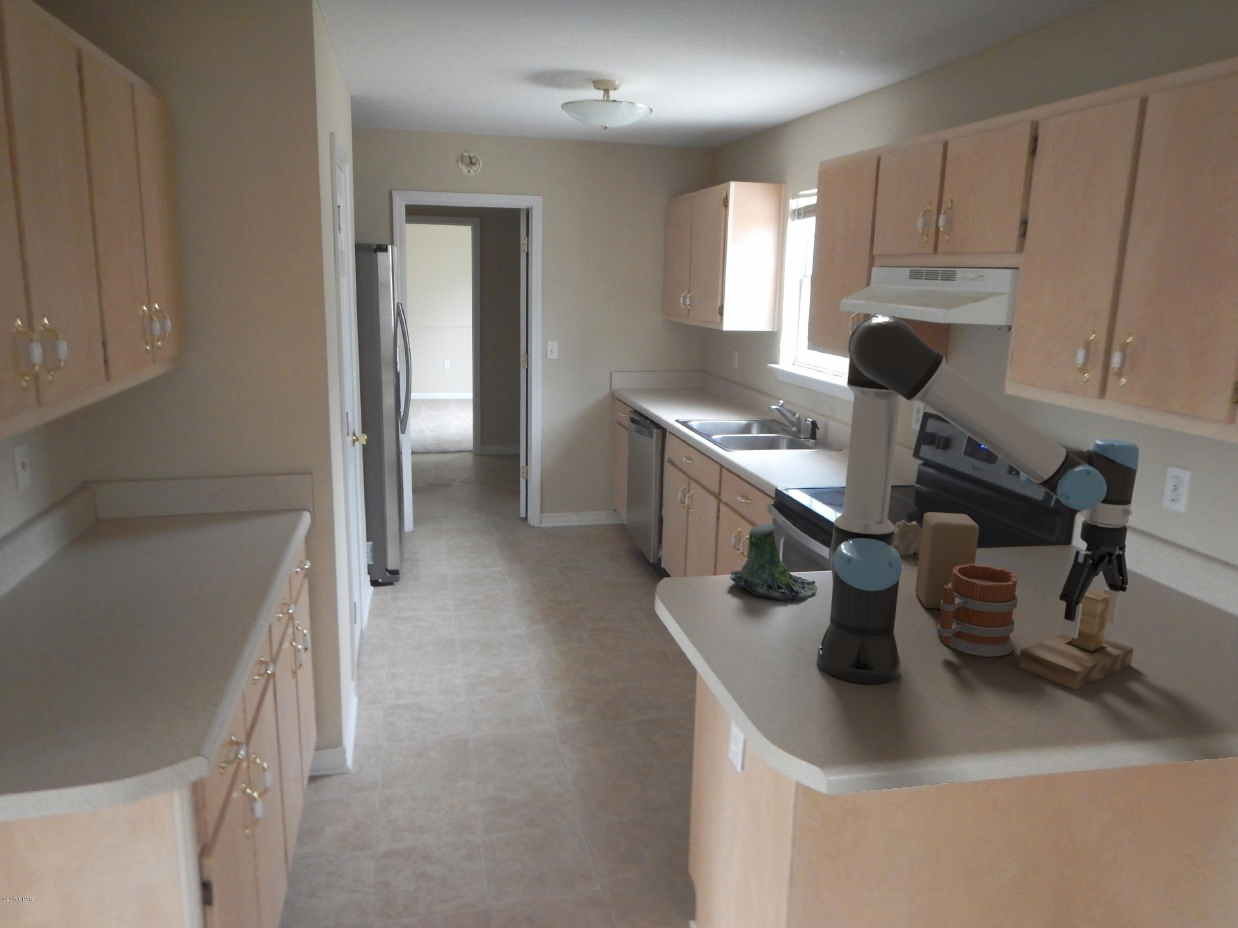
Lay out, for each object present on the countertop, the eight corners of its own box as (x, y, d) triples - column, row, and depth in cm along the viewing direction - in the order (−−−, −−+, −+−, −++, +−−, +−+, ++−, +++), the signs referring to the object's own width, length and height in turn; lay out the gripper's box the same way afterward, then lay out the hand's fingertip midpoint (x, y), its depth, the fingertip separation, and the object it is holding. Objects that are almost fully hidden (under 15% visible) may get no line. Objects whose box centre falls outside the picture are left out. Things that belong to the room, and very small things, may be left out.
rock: (931, 571, 232) (943, 538, 235) (915, 550, 225) (926, 516, 228) (899, 566, 238) (910, 534, 242) (882, 545, 231) (894, 512, 235)
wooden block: (958, 596, 206) (968, 513, 202) (970, 612, 197) (981, 525, 192) (913, 593, 207) (922, 510, 203) (923, 609, 198) (933, 522, 193)
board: (1074, 689, 161) (1077, 671, 160) (1018, 666, 170) (1020, 649, 169) (1130, 664, 172) (1133, 648, 171) (1075, 644, 181) (1077, 628, 180)
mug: (1028, 648, 178) (1037, 577, 175) (969, 669, 168) (978, 594, 164) (967, 624, 190) (975, 557, 186) (908, 643, 179) (915, 572, 176)
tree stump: (833, 601, 202) (824, 530, 196) (752, 627, 198) (740, 555, 193) (798, 571, 219) (789, 504, 213) (723, 594, 215) (711, 527, 210)
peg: (1088, 668, 170) (1099, 599, 167) (1067, 660, 173) (1077, 593, 170) (1099, 664, 172) (1110, 595, 169) (1079, 656, 175) (1089, 589, 172)
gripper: (1089, 536, 156) (1072, 649, 161) (1158, 518, 170) (1141, 622, 175) (1048, 526, 163) (1033, 634, 167) (1119, 509, 176) (1103, 609, 181)
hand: (1088, 628), depth 171 cm, fingers open, 13 cm apart
